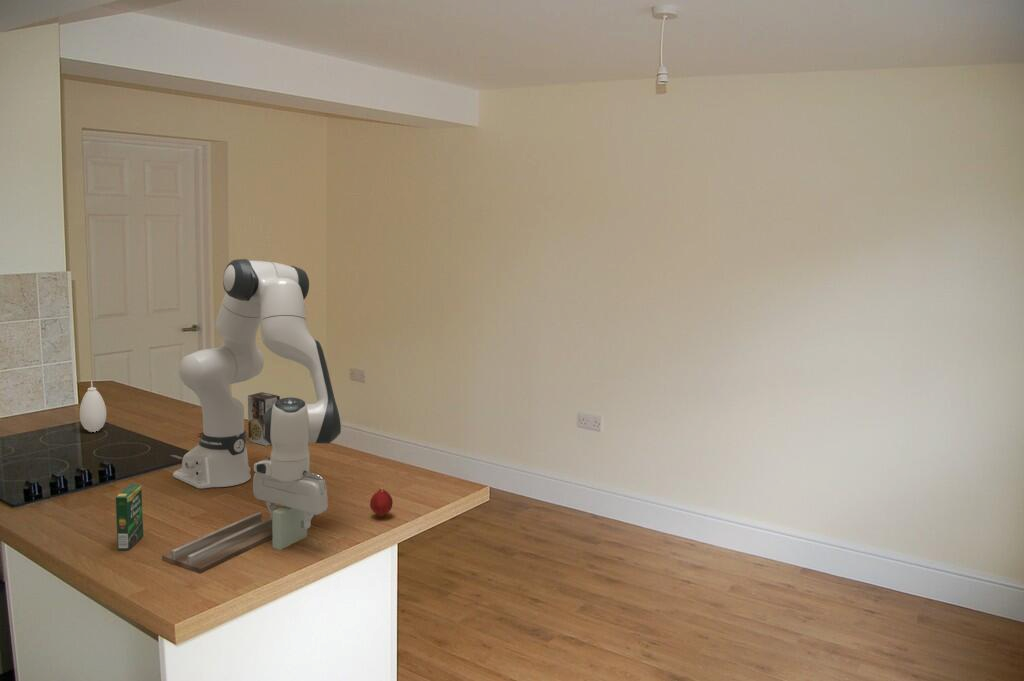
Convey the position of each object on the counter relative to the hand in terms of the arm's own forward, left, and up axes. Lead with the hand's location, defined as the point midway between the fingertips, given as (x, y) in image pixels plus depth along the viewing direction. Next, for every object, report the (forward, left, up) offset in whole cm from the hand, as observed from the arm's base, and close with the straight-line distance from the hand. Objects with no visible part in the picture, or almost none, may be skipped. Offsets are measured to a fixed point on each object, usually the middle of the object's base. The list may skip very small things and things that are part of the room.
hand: (290, 523), depth 180 cm
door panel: (0, 0, -5) cm, 5 cm away
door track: (-11, -9, -5) cm, 15 cm away
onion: (+9, +24, -5) cm, 26 cm away
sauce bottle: (-116, +31, -5) cm, 120 cm away
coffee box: (-62, +55, -5) cm, 83 cm away
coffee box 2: (-30, -20, -5) cm, 36 cm away
